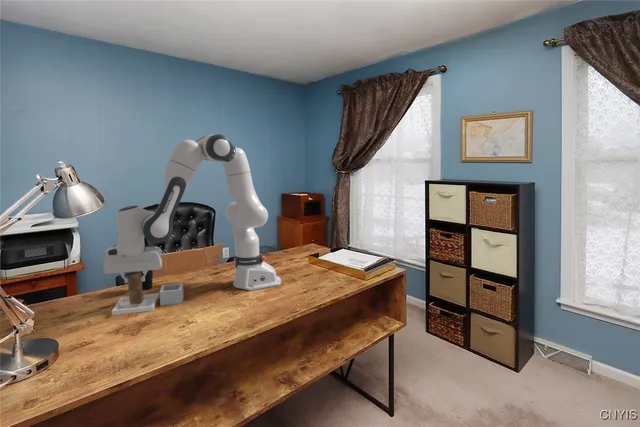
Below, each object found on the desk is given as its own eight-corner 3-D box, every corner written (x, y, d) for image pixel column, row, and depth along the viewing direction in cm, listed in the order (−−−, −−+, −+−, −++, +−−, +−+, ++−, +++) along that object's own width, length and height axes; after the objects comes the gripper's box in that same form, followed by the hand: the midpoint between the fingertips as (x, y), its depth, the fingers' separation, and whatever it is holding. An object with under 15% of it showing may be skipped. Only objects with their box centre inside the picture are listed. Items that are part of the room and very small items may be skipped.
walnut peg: (143, 299, 139) (140, 270, 137) (141, 303, 135) (138, 274, 133) (132, 300, 138) (129, 271, 136) (130, 304, 134) (127, 275, 132)
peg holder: (183, 297, 146) (182, 283, 145) (182, 305, 139) (181, 289, 138) (163, 300, 144) (162, 285, 143) (160, 307, 136) (159, 292, 135)
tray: (158, 298, 145) (158, 293, 145) (153, 312, 132) (152, 306, 132) (121, 302, 141) (121, 297, 141) (112, 317, 128) (111, 311, 128)
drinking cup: (148, 293, 151) (144, 249, 148) (133, 292, 153) (129, 248, 150) (159, 287, 158) (156, 245, 155) (144, 286, 160) (141, 244, 157)
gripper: (162, 244, 139) (164, 276, 141) (105, 247, 133) (108, 282, 135) (160, 247, 133) (162, 281, 135) (99, 252, 127) (103, 287, 129)
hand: (135, 282), depth 135 cm, fingers closed on walnut peg, 4 cm apart
